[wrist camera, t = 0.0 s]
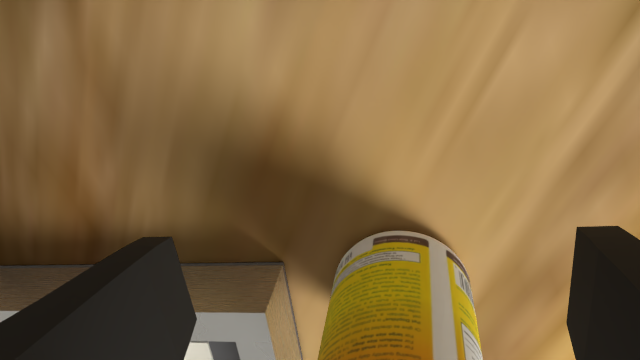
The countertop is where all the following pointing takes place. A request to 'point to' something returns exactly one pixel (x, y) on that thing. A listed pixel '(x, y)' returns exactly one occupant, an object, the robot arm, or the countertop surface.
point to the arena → (196, 306)
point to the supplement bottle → (400, 302)
